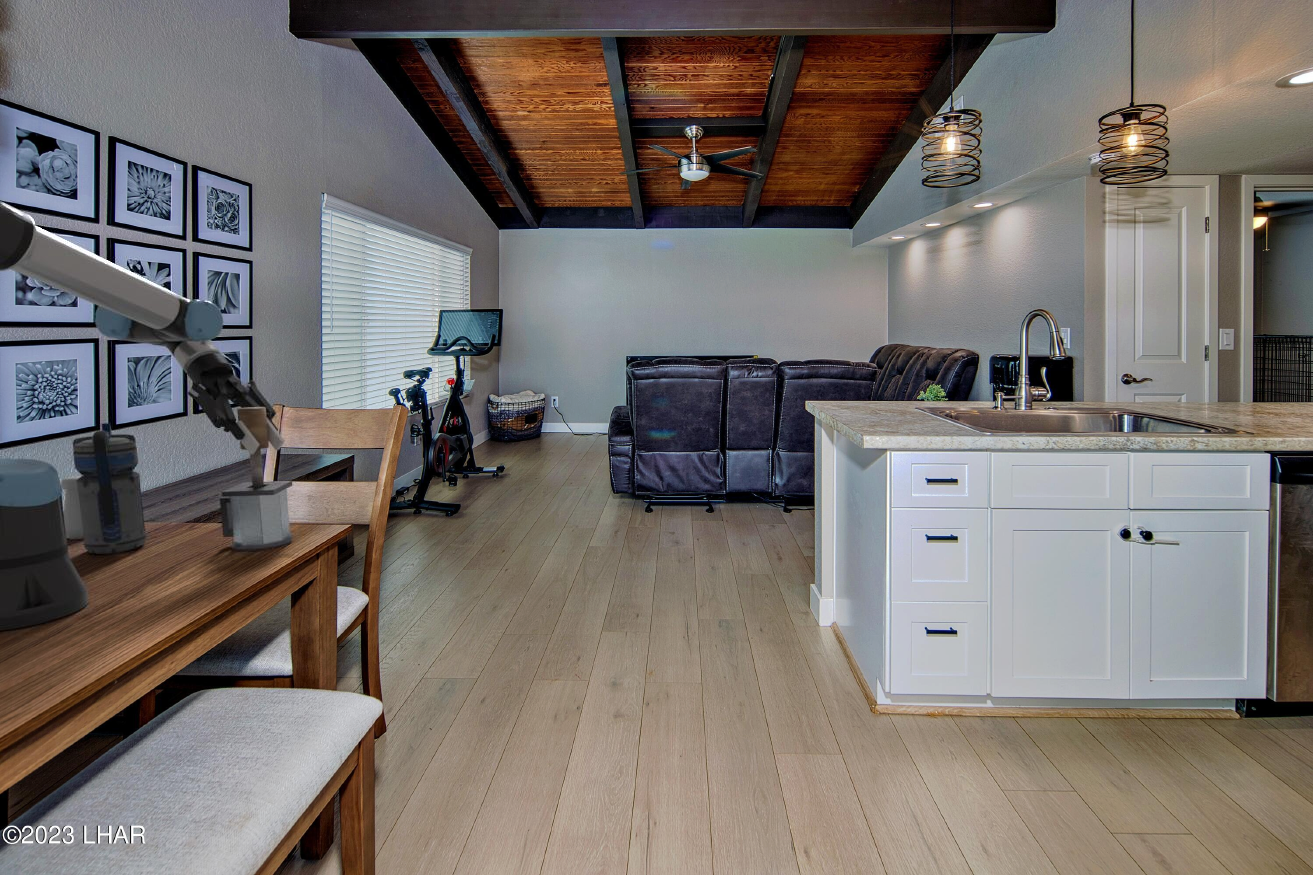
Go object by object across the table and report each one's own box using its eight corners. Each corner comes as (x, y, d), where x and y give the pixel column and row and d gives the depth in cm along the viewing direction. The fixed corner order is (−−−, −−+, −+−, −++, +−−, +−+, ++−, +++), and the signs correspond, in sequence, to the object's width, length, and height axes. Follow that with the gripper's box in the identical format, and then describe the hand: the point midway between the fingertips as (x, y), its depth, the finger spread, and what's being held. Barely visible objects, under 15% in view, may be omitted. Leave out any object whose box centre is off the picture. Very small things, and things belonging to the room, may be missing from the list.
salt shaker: (83, 532, 161) (76, 474, 159) (104, 533, 159) (97, 474, 158) (56, 539, 155) (48, 479, 153) (78, 540, 154) (71, 480, 152)
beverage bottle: (79, 562, 139) (63, 431, 135) (89, 545, 150) (75, 424, 147) (144, 553, 144) (130, 427, 140) (149, 538, 155) (136, 421, 152)
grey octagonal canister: (213, 552, 144) (208, 492, 142) (239, 537, 154) (234, 482, 153) (280, 550, 145) (275, 490, 143) (301, 535, 156) (296, 480, 154)
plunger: (239, 489, 145) (232, 409, 143) (250, 485, 150) (243, 407, 148) (266, 489, 146) (259, 409, 144) (276, 484, 151) (269, 406, 149)
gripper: (167, 351, 140) (233, 440, 136) (252, 350, 157) (314, 429, 152) (152, 379, 143) (217, 467, 139) (237, 374, 160) (297, 453, 155)
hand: (267, 447), depth 146 cm, fingers closed on plunger, 5 cm apart
